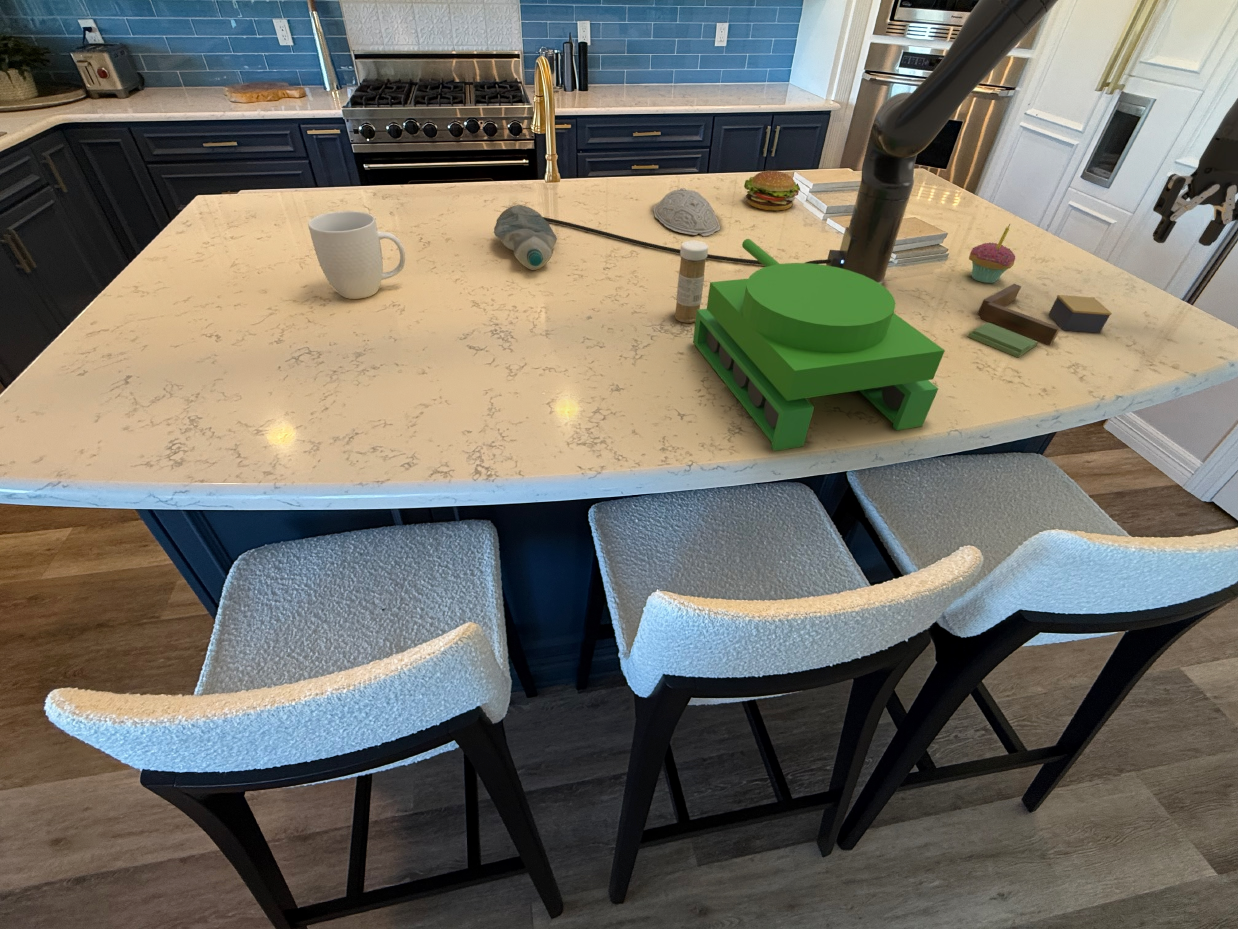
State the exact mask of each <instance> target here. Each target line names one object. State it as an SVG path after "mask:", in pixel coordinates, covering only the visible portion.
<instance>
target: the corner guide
mask: <svg viewBox="0 0 1238 929" xmlns="http://www.w3.org/2000/svg"><path fill="white" fill-rule="evenodd" d="M1021 288H1022V285H1019V284H1017V283H1013V284H1010V285H1008V286H1007V287H1005V288H1003V289H1001V290H999V291H998V292H995V293H993V294H992V295H990V296H988V297H986V298H984V299H982V302H981V305H980V307H979V309H978V312H977V315H978V316H980V320H983V321H984V322H985V321H986V322H988V323H991V324H994V325H996V326H999V327H1001V328H1004V329H1006V330H1009V331H1012V332H1014V333H1017V334H1019V335H1022V336H1025V337H1027V338H1030V339H1032V340H1035V341H1037V342H1040V343H1042V344H1045V345H1047V346H1051V345H1052V344H1054V342H1055V340H1056V338H1057V336H1058V334H1059V332H1060V331H1061V330H1062V328H1061V327H1060V326H1059V325H1056V324H1053V323H1049V322H1047V321H1044V320H1041V319H1038V318H1036V317H1033V316H1030V315H1028V314H1025V313H1022V312H1019V311H1016V310H1014V309H1012V308H1008V307H1007V306H1008V305H1009V304H1011V303H1014V302H1015V301H1016V300H1017V297H1018V295H1019V293H1020V291H1021Z"/></svg>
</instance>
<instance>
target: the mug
mask: <svg viewBox="0 0 1238 929" xmlns="http://www.w3.org/2000/svg"><path fill="white" fill-rule="evenodd" d="M307 226H308V230H309V234H310V237H311V241H312V245H313V248H314V252H315V255H316V258H317V262H318V263H319V267H320V268H321V270H322V273H323V275H324V276H325V278H326V280H327V281H328V282H329V284H330V286H331V287H332V288H333V289H334V290H335V291H336V292H337V294H339V295H340V296H341V297H343V298H344V299H345V298H346V299H349V300H360V299H366V298H370V297H372V296H373V295H375V294H376V293H378V291H379V288H380V286H381V282H382V281H384V280H388V279H390V278H393V277H395V276H397V275H398V274H400V273H401V272H402V271H403V269H404V267H405V264H406V251H405V248H404V246H403V244H402V242H401V240H400V239H399V238H398V237H397V236H396V235H394V234H393V233H391V232H388V231H383V230H382V231H379V230H378V226H377V221H376V218H375V216H374V215H373V214H371V213H368V212H364V211H360V210H337V211H329V212H326V213H322V214H318V215H315V216H313V217H311V219H310V220H309V221H308V223H307ZM385 239H386V240H390V241H392V242H393V243H394V244H395V245H396V247H397V249H398V251H399V262H398V265H397V266H396V267H395V268H394V269H392V270H391V271H388V272H383V270H384V261H383V252H382V245H381V240H385Z"/></svg>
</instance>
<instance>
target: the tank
mask: <svg viewBox="0 0 1238 929" xmlns="http://www.w3.org/2000/svg"><path fill="white" fill-rule="evenodd" d="M741 246H742V248H743V249H744V250H745V251H746V252H747V253H748V254H750V255H751V256H752V257H753V258H754V260H758V261H759V262H760V263H761V264H762V265H761V266H764V267H762V268H760V269H757V270H755V271H754V272H753V273H752V274H750V275H749V277H748V278H740V279H739V278H738V279H728V280H720V281H719V280H717V281H710V282H709V288H708V296H707V303H706V308H700V309H699V310H697V313H696V321H695V322H694V331H693V338H692V343H693V345H694V346H695V347H696V348H697V350H698V351H699V352H700V353H701V355H702V357H704V358H705V360H706V361H707V362H708V363H709V365H710V366H711V367H712V368H713V370H714V371H715V372H716V374H717V375H718V376H719V377H720V380H722V381H723V383H724V384H725V385H726V386H727V388H728V389H729V390H730V391H731V393H732V394H733V395H734V397H735V398H736V399H737V401H738V402H739V403H740V404H741V406H742V407H743V408H744V409H745V411H746V412H747V413H748V414H749V416H750V417H751V418H752V420H753V421H754V422H755V423H756V425H757V426H758V427H759V428H760V430H761V431H762V432H763V433H764V435H765V436H766V437H767V438H768V440H769V442H771V444H770V445H771V446H770V447H771V449H772V450H773V451H774V452H777V451H783V450H789V449H795V448H800V447H804V444H805V441H806V439H807V435H808V430H809V428H810V423H811V419H812V417H813V413H814V410H815V407H814V406H813V404H812V403H811V402H810V401H809V400H808V399H809V398H814V397H815V398H816V397H822V396H823V397H824V396H829V395H835V394H843V393H849V392H857V391H858V392H859V393H860V394H861V395H863V397H864V398H865V399H867V400H868V401H869V402H870V404H872V405H873V406H874V407H875V408H876V409H877V410H878V411H879V412H880V413H881V414H882V415H883V416H884V417H886V418H887V419H888V420H889V421H890V422H891V424H892V428H893V429H894V430H895V431H901V430H906V429H907V430H908V429H913V428H919V427H923V426H924V424H925V422H926V419H927V416H928V415H929V412H930V409H931V407H932V405H933V403H934V400H935V398H936V395H937V394H938V391H939V387H938V386H937V385H935V384H934V383H932V382H931V381H932V380H934V378H935V375H936V373H937V371H938V369H939V366H940V364H941V361H942V359H943V356H944V354H945V352H946V350H945V349H944V348H942V347H941V346H940V345H938V344H937V343H935V342H934V341H933V340H932V339H930V338H929V337H928V336H926V335H925V334H923V333H922V332H921V331H920V330H918V329H917V328H916V327H914V326H913V325H911V324H910V323H909V322H907V321H906V320H904V319H903V318H902V317H900V316H899V315H898V314H896V313H895V309H896V304H897V302H896V300H895V297H894V295H893V294H892V293H891V292H890V291H889V290H888V289H887V288H886V287H885V286H883V284H882V285H881V284H879V283H877V282H876V281H874V280H872V279H870V278H868V277H866V276H863V275H861V274H858V273H855V272H852V271H849V270H845V269H841V268H838V267H832V266H827V265H826V264H811V263H805V262H788V263H787V262H786V263H780V262H779V261H778V260H776V259H774V258H773V257H772V256H771V255H770V254H769V253H767V252H766V251H765V250H764V249H763V248H762V247H760V246H759V245H758V244H757V243H755V241H753V240H751V239H750V238H746V239H744V240H743V241H742V244H741ZM930 380H931V381H930Z"/></svg>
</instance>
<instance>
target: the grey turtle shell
mask: <svg viewBox="0 0 1238 929" xmlns="http://www.w3.org/2000/svg"><path fill="white" fill-rule="evenodd" d="M653 215H654V217H655V218H656V220H659V222H660V224H663V226H664V227H665V228H667V229H669V230H671V231H674V232H678V233H681V234H686V235H691V236H697V235H698V234H699V235H701V236H702V237H708V236H710V235H713V234H714V233H715V232H718V231H720V229H721V226H720V224H719V220H718V218H717V215H716V214H715V210H714V209H713V207H712V205H711V204H710V202H709V201H708V199H706V198H705V197H704V196H702V195H701V193H700V192H698V191H695V190H692V189H686V188H684V187H681V188H679V189H674V190H672V191H669V192H668V193H666V195H665V194H664V197H662V198H661V200H660V201H659V202H658V203H657V204H656V205H654V207H653Z"/></svg>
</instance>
